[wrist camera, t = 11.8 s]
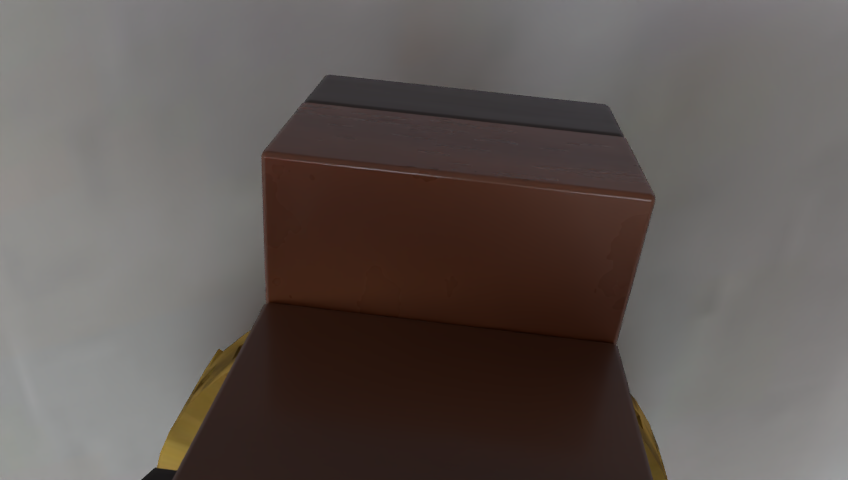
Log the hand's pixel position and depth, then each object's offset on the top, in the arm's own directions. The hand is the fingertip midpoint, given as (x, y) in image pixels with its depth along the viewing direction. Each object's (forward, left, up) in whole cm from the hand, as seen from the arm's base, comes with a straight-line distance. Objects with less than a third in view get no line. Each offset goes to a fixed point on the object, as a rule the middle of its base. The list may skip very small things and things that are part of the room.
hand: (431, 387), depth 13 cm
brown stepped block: (0, 0, 0) cm, 0 cm away
